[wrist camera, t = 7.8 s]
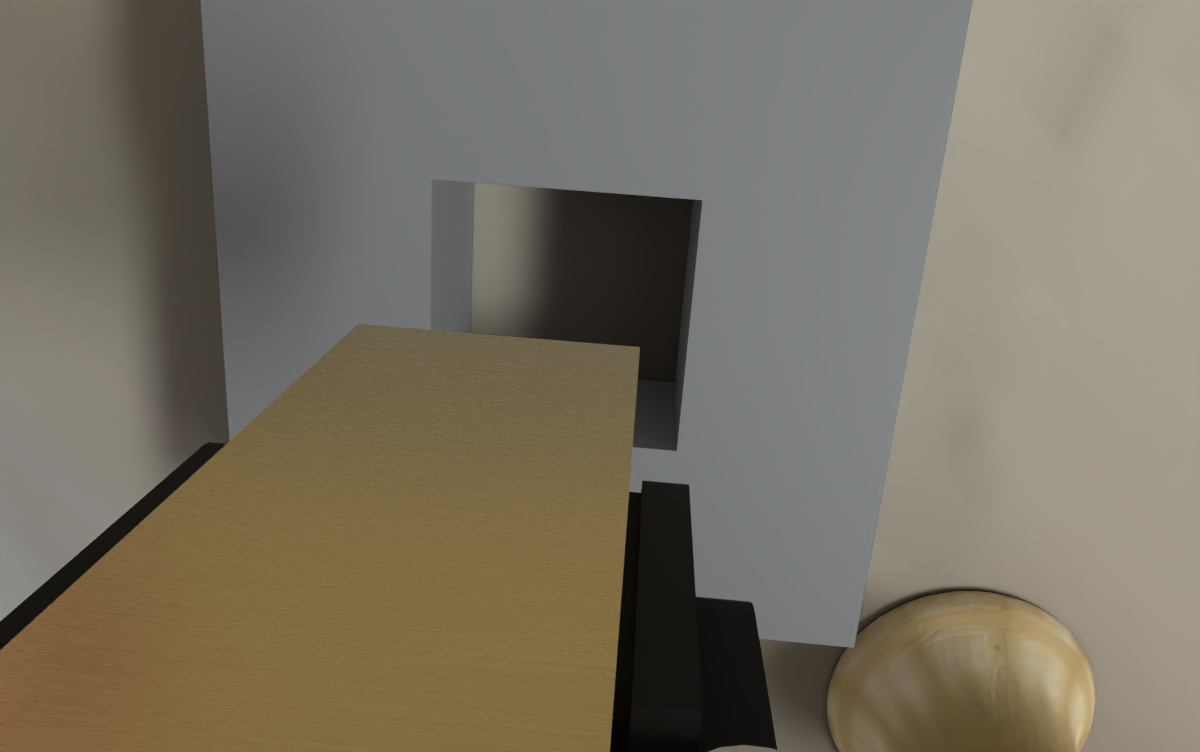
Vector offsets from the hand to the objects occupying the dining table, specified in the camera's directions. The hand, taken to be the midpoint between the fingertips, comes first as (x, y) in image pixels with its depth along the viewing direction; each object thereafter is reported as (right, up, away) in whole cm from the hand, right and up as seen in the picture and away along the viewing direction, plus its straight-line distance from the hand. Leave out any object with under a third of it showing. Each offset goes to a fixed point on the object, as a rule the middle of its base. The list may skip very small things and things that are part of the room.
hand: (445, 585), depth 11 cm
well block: (+1, +5, +16) cm, 17 cm away
